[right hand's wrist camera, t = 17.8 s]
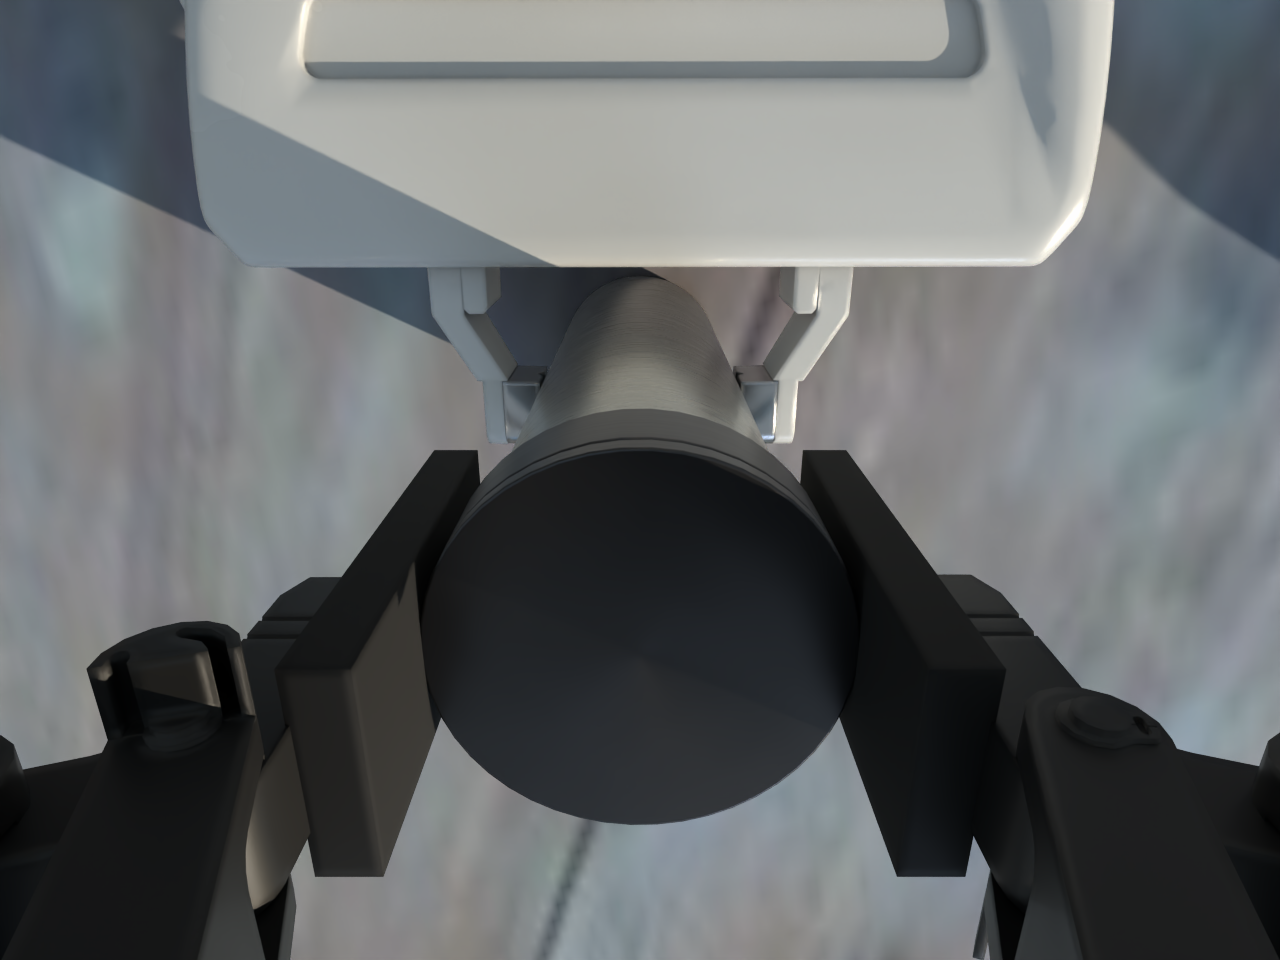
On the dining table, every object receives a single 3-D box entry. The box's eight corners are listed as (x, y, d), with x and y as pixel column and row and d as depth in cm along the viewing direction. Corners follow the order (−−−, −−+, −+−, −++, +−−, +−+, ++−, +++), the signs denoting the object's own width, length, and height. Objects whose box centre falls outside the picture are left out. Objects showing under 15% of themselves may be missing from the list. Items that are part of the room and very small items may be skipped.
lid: (537, 783, 13) (522, 867, 12) (383, 484, 11) (340, 535, 10) (872, 686, 13) (905, 762, 11) (769, 348, 11) (792, 381, 9)
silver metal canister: (535, 330, 27) (373, 581, 11) (662, 244, 26) (700, 373, 10) (620, 450, 29) (592, 829, 12) (742, 373, 28) (894, 674, 11)
